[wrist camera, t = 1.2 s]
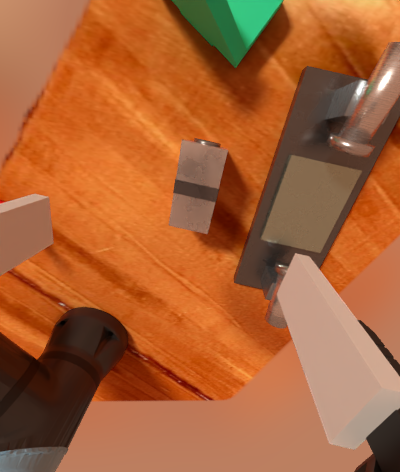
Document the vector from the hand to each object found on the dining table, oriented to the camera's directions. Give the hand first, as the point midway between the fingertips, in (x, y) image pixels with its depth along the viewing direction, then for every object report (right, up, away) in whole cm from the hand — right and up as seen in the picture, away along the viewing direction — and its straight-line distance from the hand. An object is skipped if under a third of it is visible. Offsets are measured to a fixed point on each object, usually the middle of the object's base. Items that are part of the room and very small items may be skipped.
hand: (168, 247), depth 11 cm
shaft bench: (+16, +5, +20) cm, 26 cm away
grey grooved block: (+2, +9, +20) cm, 22 cm away
